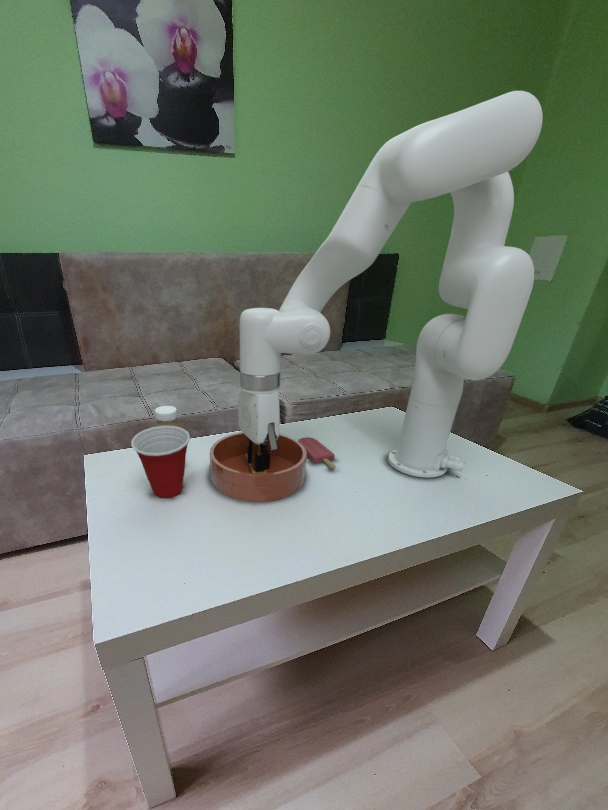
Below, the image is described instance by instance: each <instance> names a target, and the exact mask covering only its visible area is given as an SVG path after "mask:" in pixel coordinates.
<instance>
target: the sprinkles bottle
mask: <svg viewBox="0 0 608 810" xmlns="http://www.w3.org/2000/svg"><path fill="white" fill-rule="evenodd" d="M154 418H155V420H156V425H157V426H176V427H179V426H178V409H177V407H175V406H172V405H162V406H158V407H156V408H154ZM157 426H156V427H157Z"/></svg>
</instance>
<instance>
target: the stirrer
mask: <svg viewBox="0 0 608 810" xmlns="http://www.w3.org/2000/svg"><path fill="white" fill-rule="evenodd" d="M265 445H266V443H263V444H262V447H263V446H265ZM255 454H257V444H255V443H254V442H253V441H252V453H251V464H249V463H248V453H245V457H246V460H247V463H248V465H249V468H250V470H251V473H267V471H266V470H263V471H259V472H257V471H256V470H255Z"/></svg>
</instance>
